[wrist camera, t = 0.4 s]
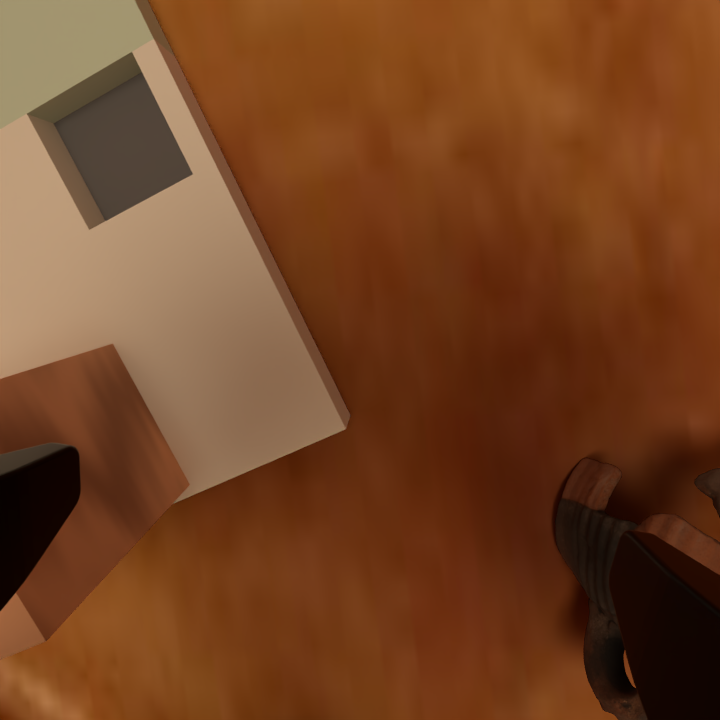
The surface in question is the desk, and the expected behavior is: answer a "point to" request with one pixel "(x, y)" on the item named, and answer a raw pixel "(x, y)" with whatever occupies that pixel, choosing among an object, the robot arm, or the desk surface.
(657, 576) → the robot arm
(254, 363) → the plate
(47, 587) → the terracotta block
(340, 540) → the desk surface
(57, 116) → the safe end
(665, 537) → the brown arched piece
